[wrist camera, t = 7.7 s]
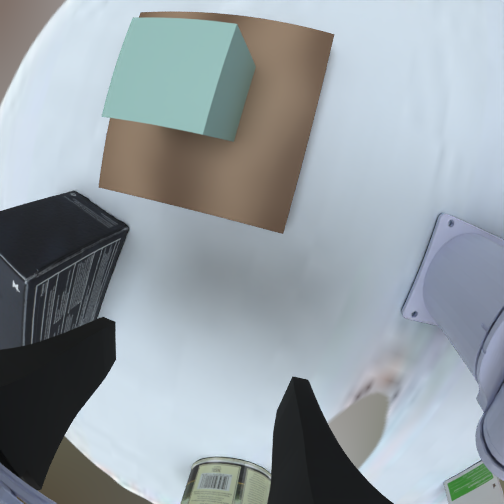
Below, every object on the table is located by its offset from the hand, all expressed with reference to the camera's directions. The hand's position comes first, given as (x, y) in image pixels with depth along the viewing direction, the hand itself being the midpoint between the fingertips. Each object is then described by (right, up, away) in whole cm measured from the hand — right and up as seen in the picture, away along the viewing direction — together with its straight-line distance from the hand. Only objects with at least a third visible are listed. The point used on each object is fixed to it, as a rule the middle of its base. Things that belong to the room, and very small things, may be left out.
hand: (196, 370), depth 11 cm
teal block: (0, +13, +4) cm, 14 cm away
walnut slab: (0, +13, +7) cm, 15 cm away
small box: (-12, +4, +12) cm, 17 cm away
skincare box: (+35, -29, +16) cm, 49 cm away
